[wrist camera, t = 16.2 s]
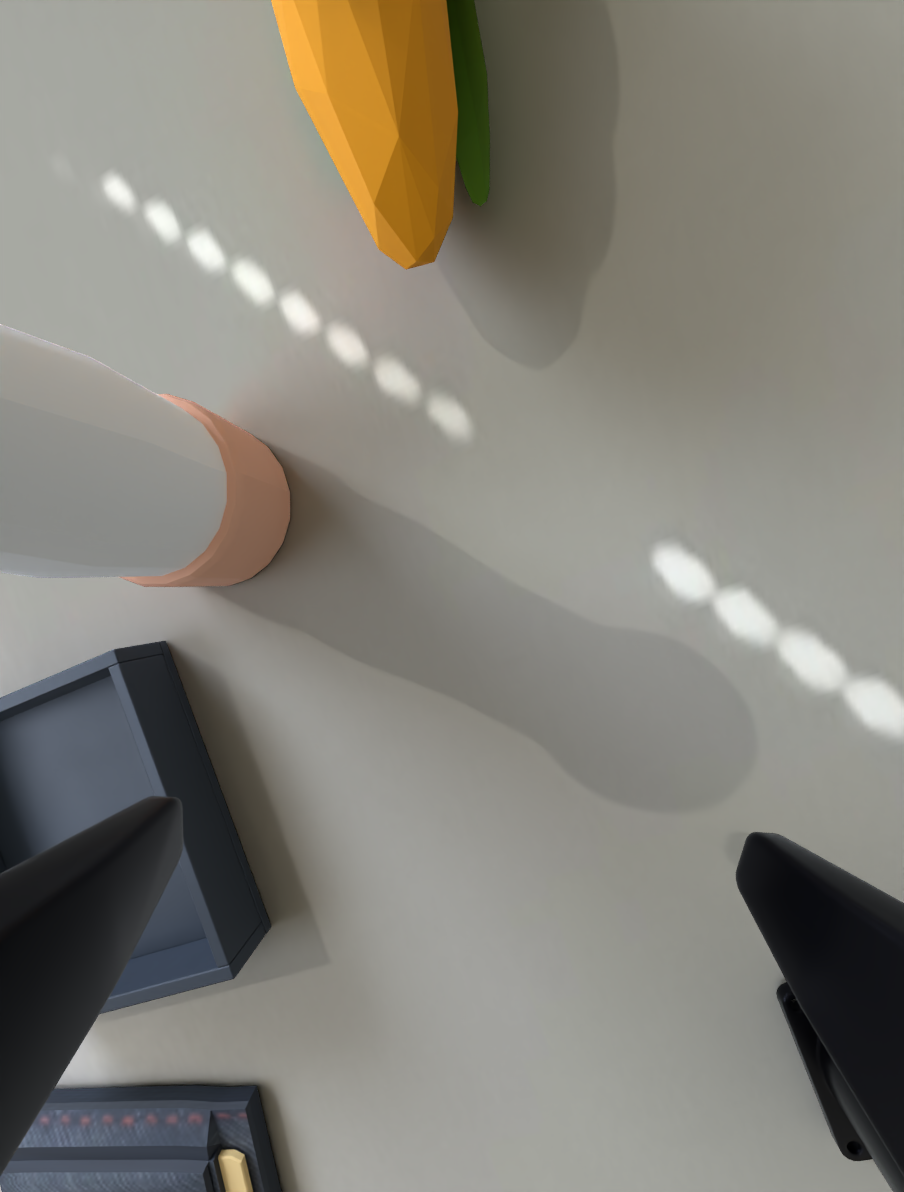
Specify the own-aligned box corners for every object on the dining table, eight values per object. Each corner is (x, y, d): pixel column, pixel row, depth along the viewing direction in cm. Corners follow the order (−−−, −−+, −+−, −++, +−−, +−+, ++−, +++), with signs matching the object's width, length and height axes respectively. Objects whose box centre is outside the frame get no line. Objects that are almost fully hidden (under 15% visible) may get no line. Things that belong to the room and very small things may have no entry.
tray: (271, 926, 19) (234, 979, 17) (50, 988, 21) (-13, 1044, 19) (166, 640, 20) (113, 649, 17) (-42, 727, 22) (-117, 747, 19)
